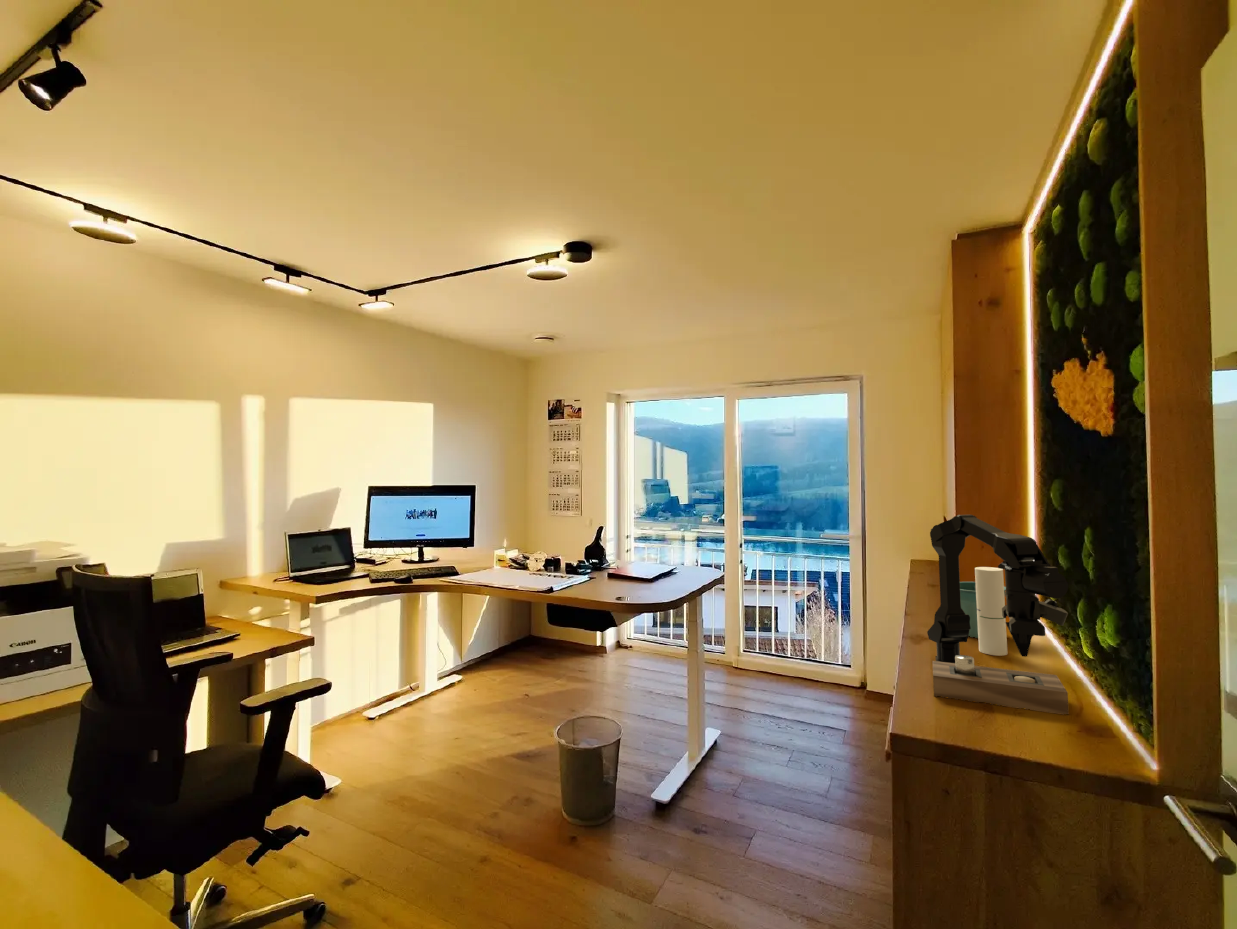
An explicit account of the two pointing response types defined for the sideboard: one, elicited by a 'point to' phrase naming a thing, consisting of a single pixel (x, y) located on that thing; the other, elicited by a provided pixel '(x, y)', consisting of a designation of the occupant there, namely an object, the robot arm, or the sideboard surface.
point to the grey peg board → (1001, 688)
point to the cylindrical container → (990, 610)
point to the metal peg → (964, 665)
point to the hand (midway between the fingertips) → (1024, 656)
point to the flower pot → (970, 605)
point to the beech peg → (1024, 679)
